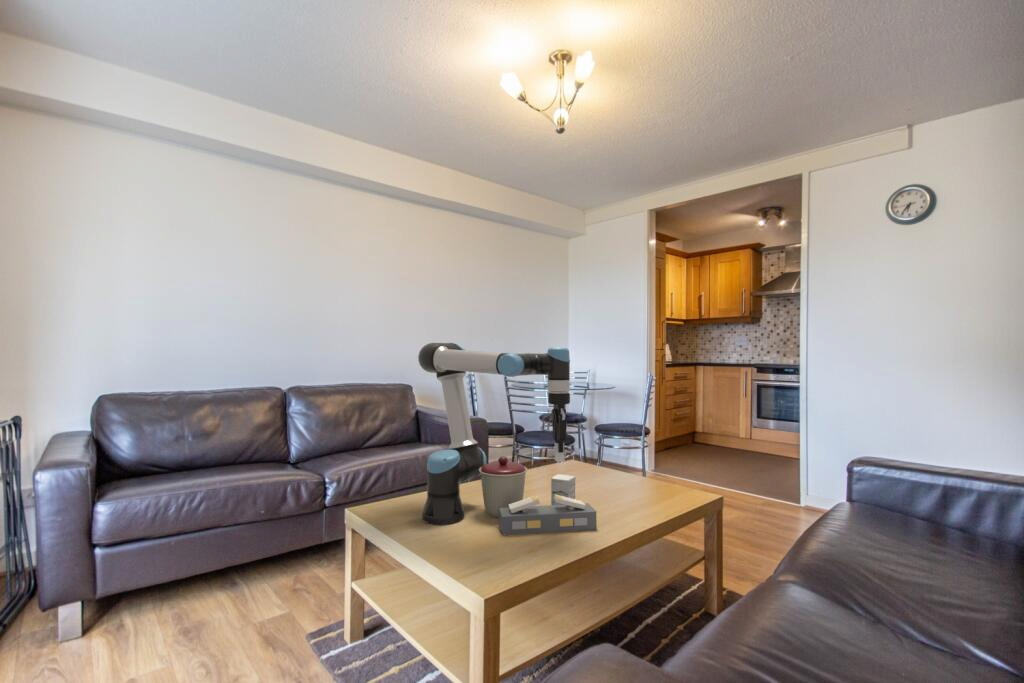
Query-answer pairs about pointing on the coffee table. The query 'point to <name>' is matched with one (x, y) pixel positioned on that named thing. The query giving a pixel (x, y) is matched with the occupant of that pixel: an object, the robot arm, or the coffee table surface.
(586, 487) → the coffee table surface
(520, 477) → the canister
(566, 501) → the bar
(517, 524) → the console
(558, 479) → the supplement box
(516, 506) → the rocker
